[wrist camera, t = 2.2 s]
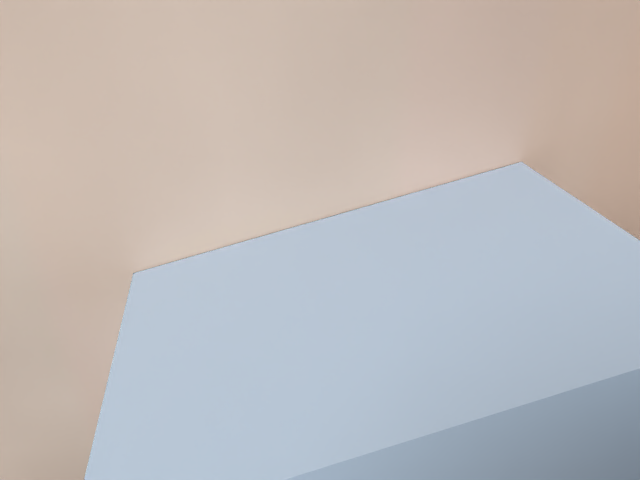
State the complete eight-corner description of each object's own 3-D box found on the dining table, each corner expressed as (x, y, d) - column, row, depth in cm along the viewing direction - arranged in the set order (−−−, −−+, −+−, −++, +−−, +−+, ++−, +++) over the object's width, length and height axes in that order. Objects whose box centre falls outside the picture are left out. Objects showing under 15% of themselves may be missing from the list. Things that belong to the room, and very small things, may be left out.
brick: (521, 161, 8) (770, 327, 4) (524, 420, 11) (670, 637, 7) (133, 273, 7) (68, 548, 4) (250, 506, 10) (269, 775, 7)
